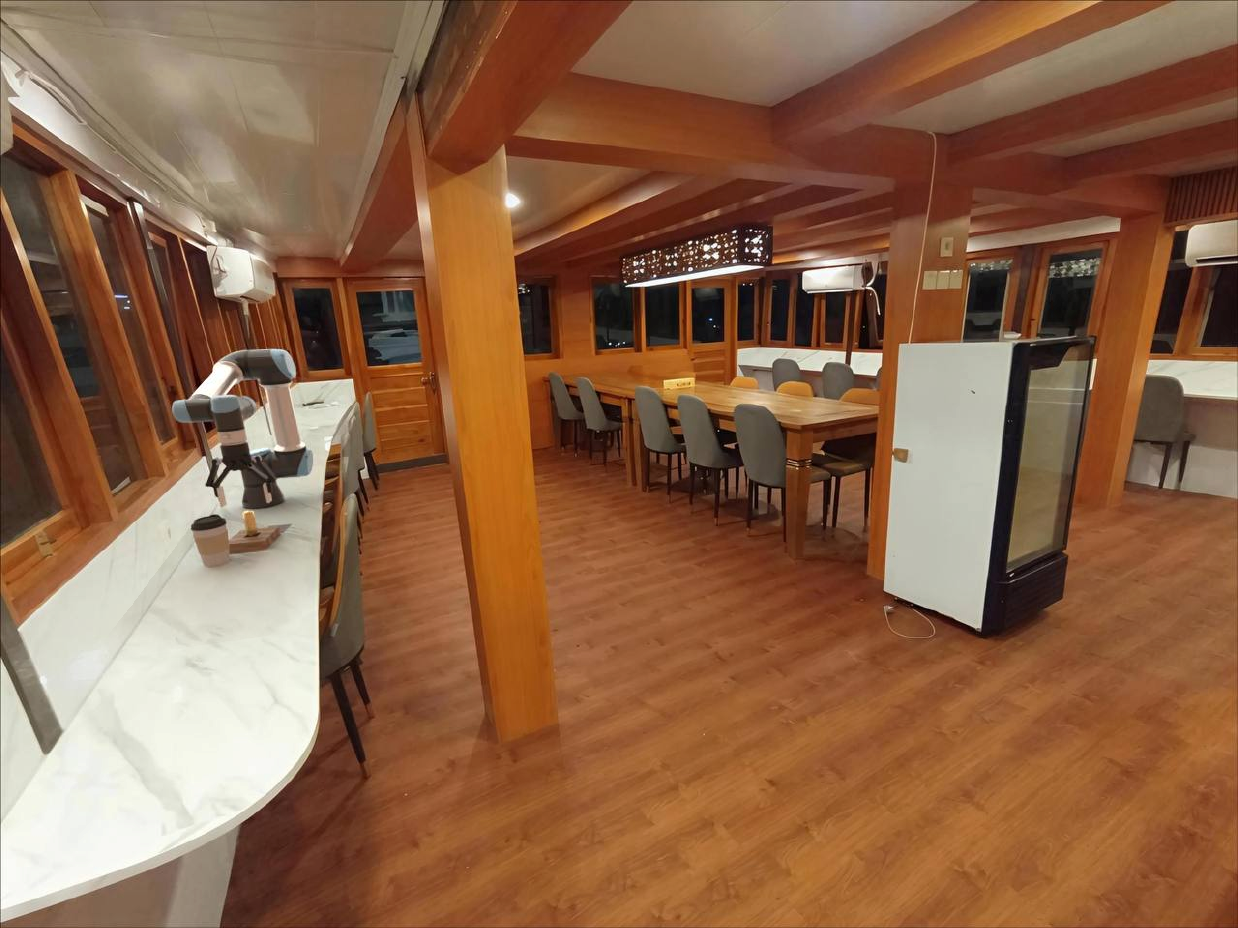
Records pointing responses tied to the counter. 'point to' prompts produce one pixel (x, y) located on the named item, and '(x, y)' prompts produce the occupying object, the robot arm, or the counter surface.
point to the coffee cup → (212, 540)
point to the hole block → (254, 540)
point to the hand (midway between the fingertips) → (246, 503)
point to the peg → (250, 523)
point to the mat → (282, 527)
